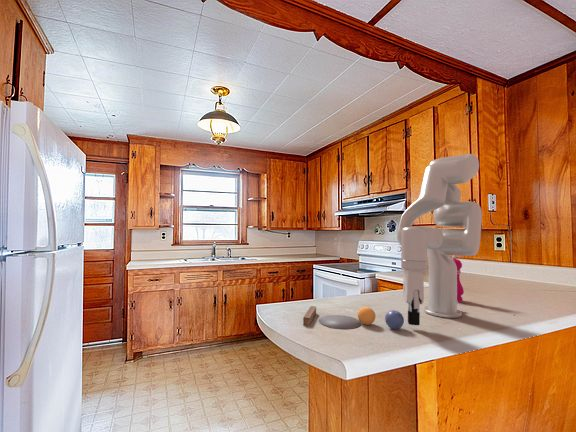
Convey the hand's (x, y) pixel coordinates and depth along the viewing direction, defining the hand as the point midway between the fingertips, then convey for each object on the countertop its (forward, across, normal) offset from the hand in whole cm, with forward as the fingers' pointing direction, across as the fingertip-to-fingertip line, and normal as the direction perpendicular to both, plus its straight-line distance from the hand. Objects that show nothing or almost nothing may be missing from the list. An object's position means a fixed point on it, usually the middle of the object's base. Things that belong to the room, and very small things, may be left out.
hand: (413, 324), depth 94 cm
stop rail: (+2, 0, -33) cm, 33 cm away
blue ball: (-1, +2, -6) cm, 6 cm away
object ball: (-1, 0, -14) cm, 14 cm away
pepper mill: (+2, -45, +24) cm, 51 cm away
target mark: (+2, 0, -23) cm, 23 cm away
